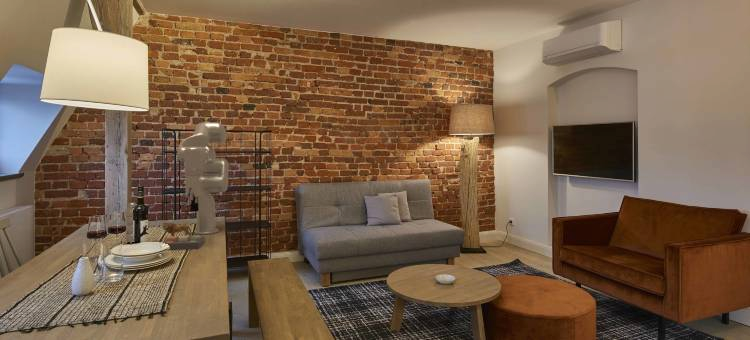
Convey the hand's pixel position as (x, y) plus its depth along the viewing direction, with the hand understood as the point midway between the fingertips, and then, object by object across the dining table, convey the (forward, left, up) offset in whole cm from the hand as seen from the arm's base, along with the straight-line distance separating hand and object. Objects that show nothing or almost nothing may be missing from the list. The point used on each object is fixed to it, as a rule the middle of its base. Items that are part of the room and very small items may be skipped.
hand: (194, 211), depth 202 cm
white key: (0, -5, -15) cm, 16 cm away
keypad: (+1, -5, -17) cm, 18 cm away
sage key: (0, 0, -15) cm, 15 cm away
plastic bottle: (-10, -32, -17) cm, 38 cm away
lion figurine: (-18, -14, -17) cm, 28 cm away
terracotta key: (0, -10, -15) cm, 18 cm away
